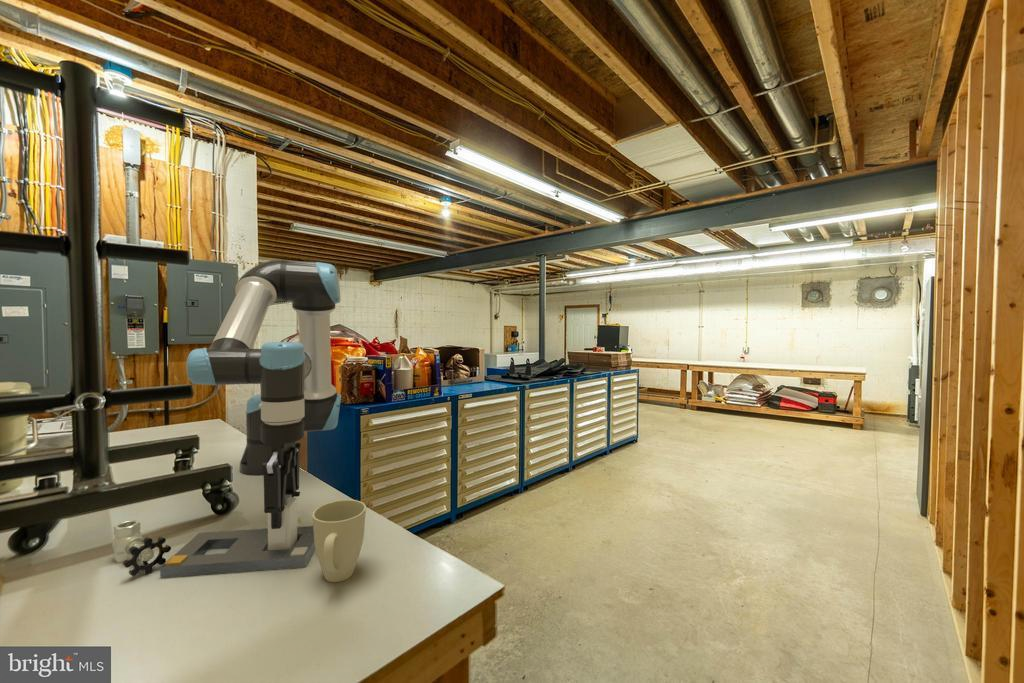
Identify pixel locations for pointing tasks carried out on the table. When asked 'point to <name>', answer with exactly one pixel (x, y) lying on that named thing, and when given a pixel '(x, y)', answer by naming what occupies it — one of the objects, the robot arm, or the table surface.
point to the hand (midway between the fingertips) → (282, 535)
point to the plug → (291, 526)
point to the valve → (136, 547)
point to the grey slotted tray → (238, 553)
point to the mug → (339, 537)
